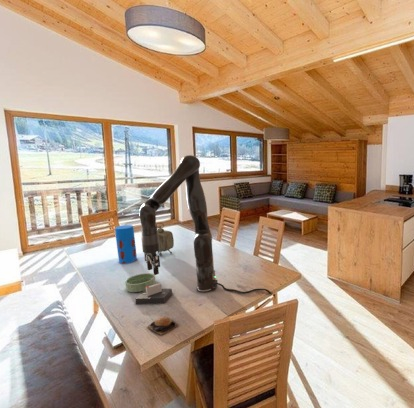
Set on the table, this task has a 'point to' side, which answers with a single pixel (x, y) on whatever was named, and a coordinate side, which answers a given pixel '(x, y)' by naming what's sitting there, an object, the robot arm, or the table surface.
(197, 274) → the robot arm
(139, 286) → the basin
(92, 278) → the table surface
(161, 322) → the open sandwich
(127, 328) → the table surface
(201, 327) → the table surface
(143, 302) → the rotary switch dial
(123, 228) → the thermos
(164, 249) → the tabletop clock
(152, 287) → the red tipped lever
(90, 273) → the table surface
